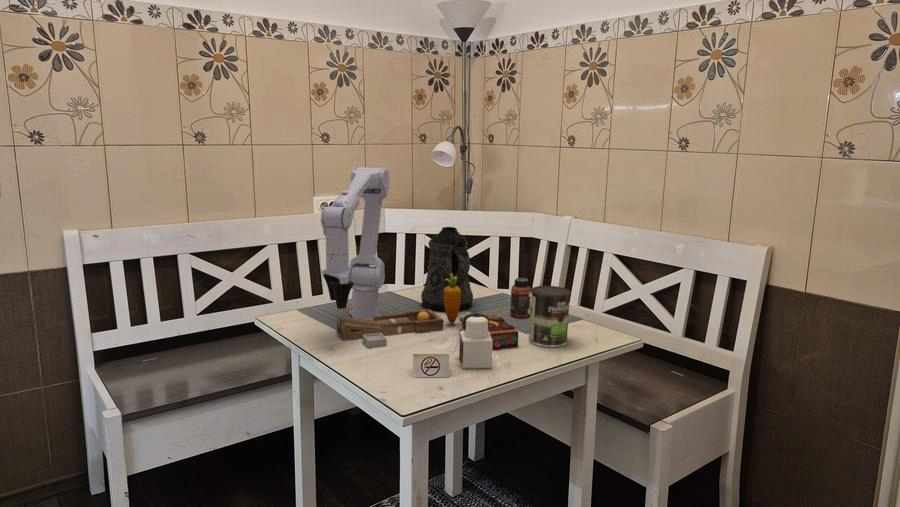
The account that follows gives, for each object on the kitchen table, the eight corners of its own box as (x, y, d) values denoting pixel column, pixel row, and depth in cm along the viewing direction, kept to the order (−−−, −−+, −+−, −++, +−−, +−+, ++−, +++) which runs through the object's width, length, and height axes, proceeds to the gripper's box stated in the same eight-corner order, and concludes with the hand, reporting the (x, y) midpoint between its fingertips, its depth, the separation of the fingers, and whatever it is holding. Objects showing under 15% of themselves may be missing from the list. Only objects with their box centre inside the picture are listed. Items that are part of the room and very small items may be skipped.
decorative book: (496, 329, 173) (497, 312, 172) (520, 349, 158) (521, 331, 157) (458, 333, 169) (459, 315, 168) (480, 353, 154) (480, 335, 153)
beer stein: (441, 295, 205) (442, 221, 199) (490, 305, 194) (493, 228, 188) (410, 306, 192) (410, 228, 186) (460, 318, 181) (463, 235, 175)
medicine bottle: (459, 357, 150) (460, 311, 148) (487, 357, 151) (489, 311, 148) (461, 369, 143) (463, 320, 141) (491, 368, 144) (493, 320, 142)
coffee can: (575, 344, 161) (578, 293, 158) (543, 350, 156) (546, 297, 154) (551, 332, 170) (554, 283, 167) (521, 337, 165) (523, 287, 162)
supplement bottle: (533, 316, 184) (535, 280, 181) (519, 319, 180) (520, 282, 178) (520, 311, 189) (522, 276, 186) (506, 314, 185) (507, 278, 183)
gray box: (362, 341, 160) (362, 334, 159) (381, 339, 162) (381, 332, 161) (367, 348, 155) (367, 341, 155) (386, 345, 157) (386, 338, 157)
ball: (416, 325, 175) (415, 313, 176) (428, 324, 176) (427, 312, 177) (419, 322, 172) (418, 310, 173) (431, 321, 173) (430, 309, 174)
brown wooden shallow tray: (335, 329, 169) (335, 315, 168) (429, 318, 180) (429, 305, 179) (344, 342, 159) (344, 327, 158) (443, 329, 170) (443, 316, 169)
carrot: (458, 328, 172) (459, 276, 169) (441, 326, 173) (442, 275, 170) (461, 322, 177) (463, 272, 173) (445, 321, 178) (446, 271, 174)
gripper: (315, 248, 161) (317, 297, 164) (327, 260, 148) (329, 313, 151) (342, 246, 164) (343, 295, 166) (356, 258, 151) (356, 310, 153)
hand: (338, 303), depth 159 cm, fingers open, 7 cm apart
